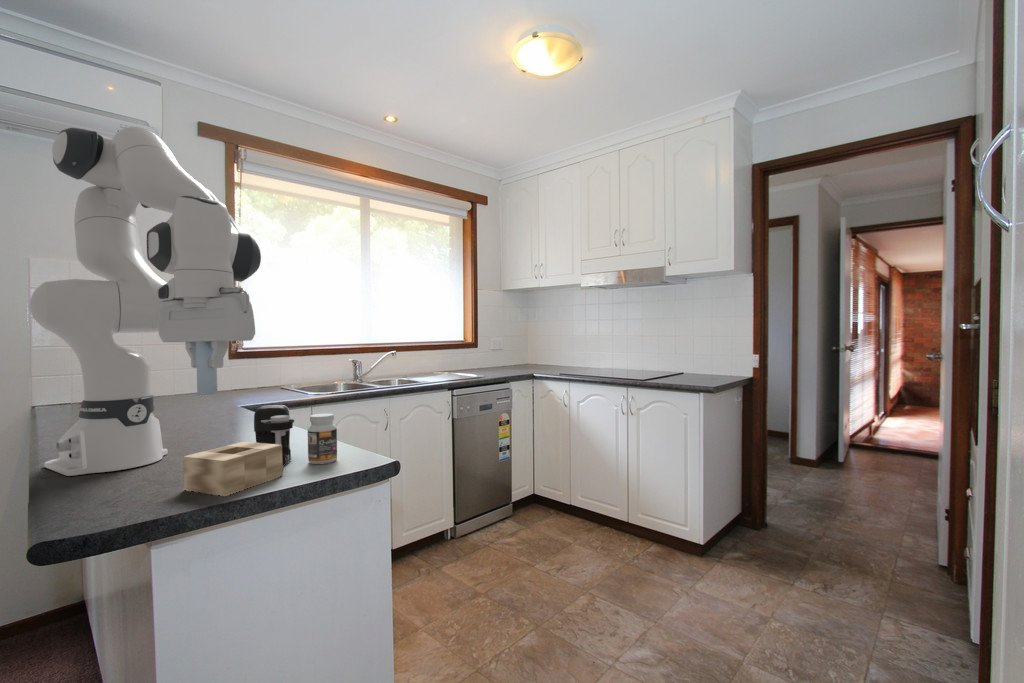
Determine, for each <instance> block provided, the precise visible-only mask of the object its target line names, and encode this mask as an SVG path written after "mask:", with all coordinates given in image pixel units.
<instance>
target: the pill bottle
mask: <svg viewBox="0 0 1024 683" xmlns="http://www.w3.org/2000/svg"><path fill="white" fill-rule="evenodd" d="M334 415H335V414H334V413H327V412H326V413H316V414H311V415H310V416H309V422H310V423H311V424H310V425H309V427H308V428H307V457H308V458H307V460H308V463H310V464H311V465H327V464H331V463H334V462H336V461H337V458H338V438H337V437H338V434H337V433H338V432H337V431H338V429H337V425H336V424H335V423H334V422H333V421H334V420H335V419H334V418H335V416H334Z"/></svg>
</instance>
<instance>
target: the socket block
mask: <svg viewBox="0 0 1024 683" xmlns="http://www.w3.org/2000/svg"><path fill="white" fill-rule="evenodd" d="M182 457H183V458H182V460H183V462H182V463H183V466H182V467H183V491H184V490H186V492H191V491H194V492H193V493H198V492H201V493H200V494H205V493H206V494H205V495H211V494H212V496H218V495H220V496H219V497H225V496H226V497H228V496H230V494H231V495H234V494H236V492H237V493H240V492H243V491H244V489H245V490H248V489H250V487H251V488H253V486H254V487H256V486H255V485H257V486H258V484H259V485H262V484H265V483H268V482H270V480H271V481H273V480H276V479H278V478H277V477H279V478H281V477H280V476H282V477H283V476H284V466H283V462H282V445H278V444H266V443H256V441H255V442H253V441H252V442H251V441H241V442H236V443H232V444H228V445H224V446H220V447H216V448H212V449H207V450H204V451H199V452H195V453H192V454H188V455H184V456H182ZM275 478H276V479H275ZM272 479H273V480H272ZM267 481H268V482H267ZM264 482H265V483H264ZM261 483H262V484H261ZM247 488H248V489H247ZM239 491H240V492H239ZM233 493H234V494H233Z"/></svg>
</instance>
